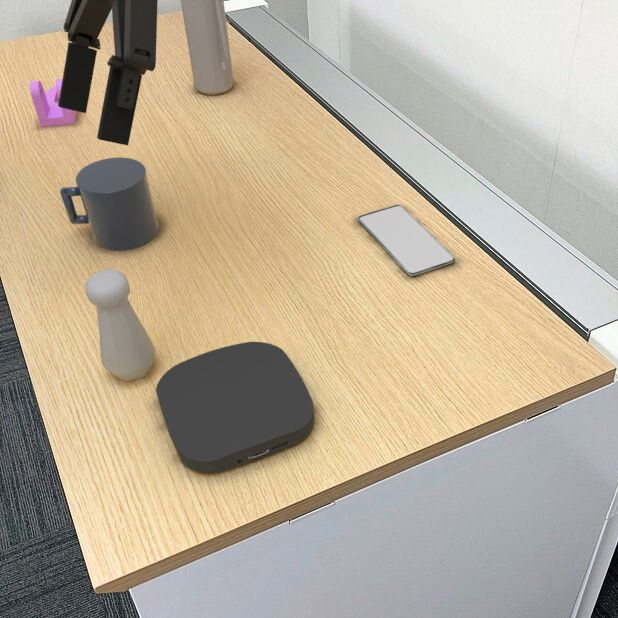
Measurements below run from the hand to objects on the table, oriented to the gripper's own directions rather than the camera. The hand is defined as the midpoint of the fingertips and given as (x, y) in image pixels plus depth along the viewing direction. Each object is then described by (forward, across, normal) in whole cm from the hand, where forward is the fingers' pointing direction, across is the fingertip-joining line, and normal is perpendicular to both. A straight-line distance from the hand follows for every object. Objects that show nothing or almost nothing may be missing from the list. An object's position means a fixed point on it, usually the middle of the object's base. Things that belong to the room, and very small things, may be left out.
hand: (91, 125), depth 73 cm
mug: (+17, +22, -13) cm, 31 cm away
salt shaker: (+25, -5, -8) cm, 27 cm away
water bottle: (-2, +54, -39) cm, 67 cm away
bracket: (+9, +63, -15) cm, 66 cm away
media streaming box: (+24, -17, -15) cm, 33 cm away
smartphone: (+6, -2, -43) cm, 43 cm away
